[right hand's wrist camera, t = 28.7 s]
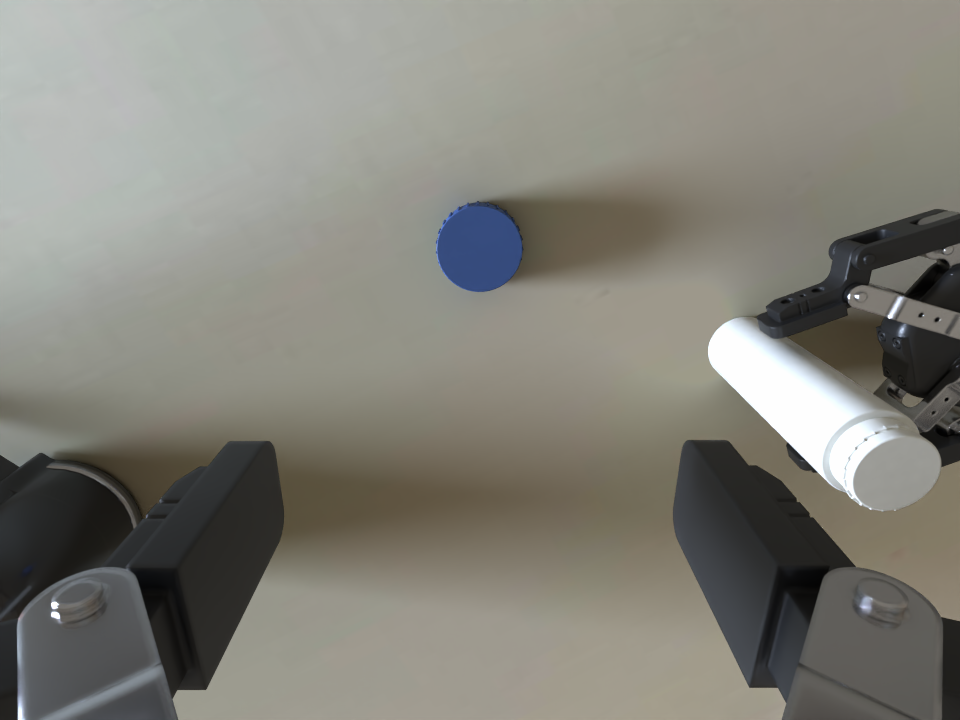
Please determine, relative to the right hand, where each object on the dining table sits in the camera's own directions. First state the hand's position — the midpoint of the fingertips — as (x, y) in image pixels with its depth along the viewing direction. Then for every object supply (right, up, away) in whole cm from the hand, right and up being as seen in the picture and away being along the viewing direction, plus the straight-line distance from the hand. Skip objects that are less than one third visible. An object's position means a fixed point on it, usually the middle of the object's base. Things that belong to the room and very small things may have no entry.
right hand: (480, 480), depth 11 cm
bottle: (+17, +3, +27) cm, 32 cm away
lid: (0, +9, +23) cm, 25 cm away
